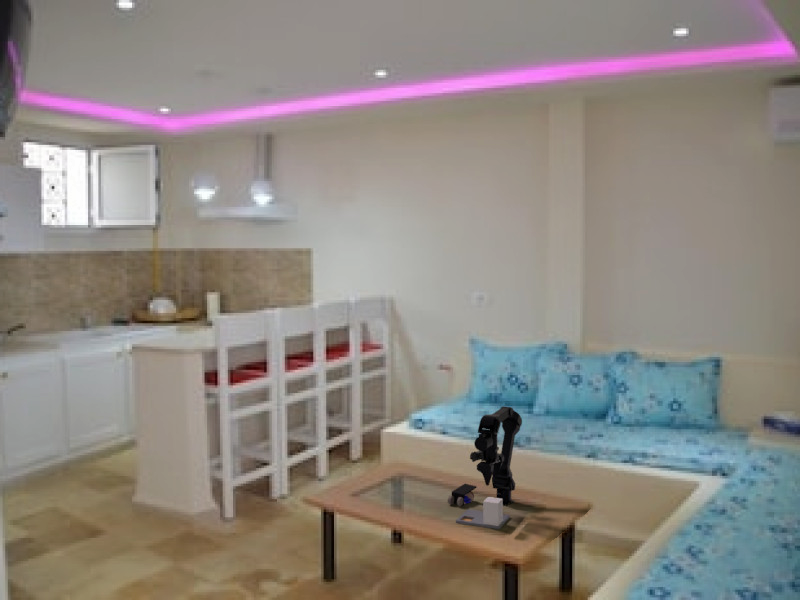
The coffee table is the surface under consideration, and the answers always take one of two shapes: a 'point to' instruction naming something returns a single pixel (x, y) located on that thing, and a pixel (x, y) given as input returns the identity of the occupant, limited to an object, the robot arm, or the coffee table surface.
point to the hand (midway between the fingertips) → (490, 482)
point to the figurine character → (462, 495)
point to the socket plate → (478, 519)
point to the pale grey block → (493, 511)
